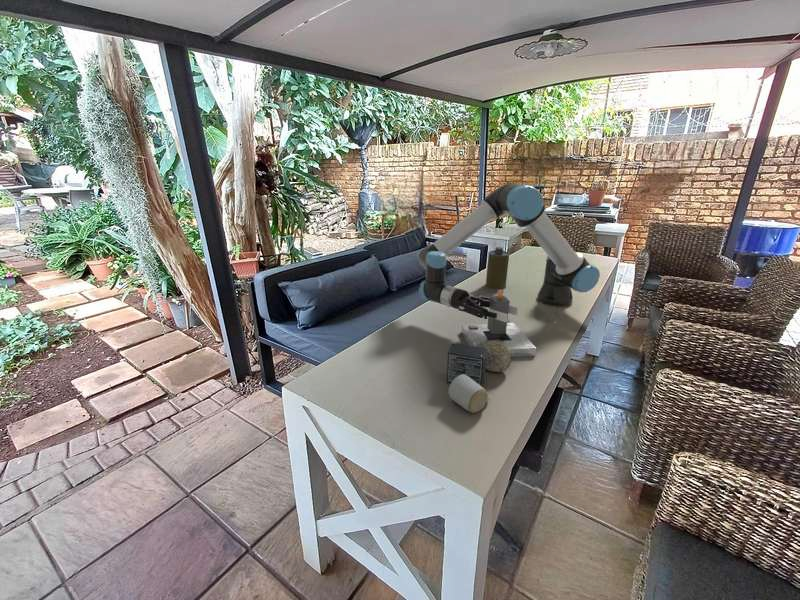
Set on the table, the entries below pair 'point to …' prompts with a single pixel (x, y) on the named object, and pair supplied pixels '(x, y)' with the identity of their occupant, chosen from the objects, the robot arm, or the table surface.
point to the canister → (497, 269)
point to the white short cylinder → (468, 393)
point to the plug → (500, 305)
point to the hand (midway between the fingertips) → (512, 314)
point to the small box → (466, 362)
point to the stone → (497, 356)
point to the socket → (500, 339)
